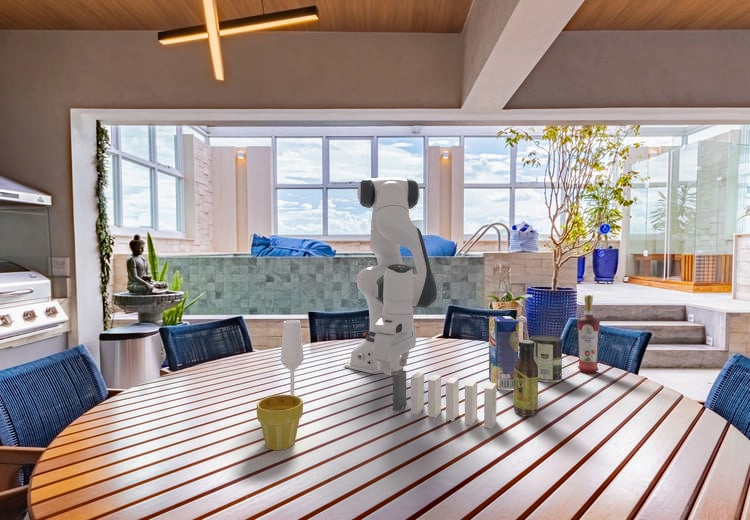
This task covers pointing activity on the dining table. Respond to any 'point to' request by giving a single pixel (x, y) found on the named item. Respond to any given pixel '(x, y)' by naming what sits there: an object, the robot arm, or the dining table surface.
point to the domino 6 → (490, 405)
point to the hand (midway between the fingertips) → (396, 369)
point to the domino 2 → (417, 393)
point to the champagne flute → (292, 349)
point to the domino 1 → (399, 390)
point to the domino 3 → (434, 396)
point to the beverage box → (503, 350)
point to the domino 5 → (470, 402)
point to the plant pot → (279, 420)
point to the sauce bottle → (526, 380)
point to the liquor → (588, 339)
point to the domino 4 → (452, 398)
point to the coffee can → (548, 357)
